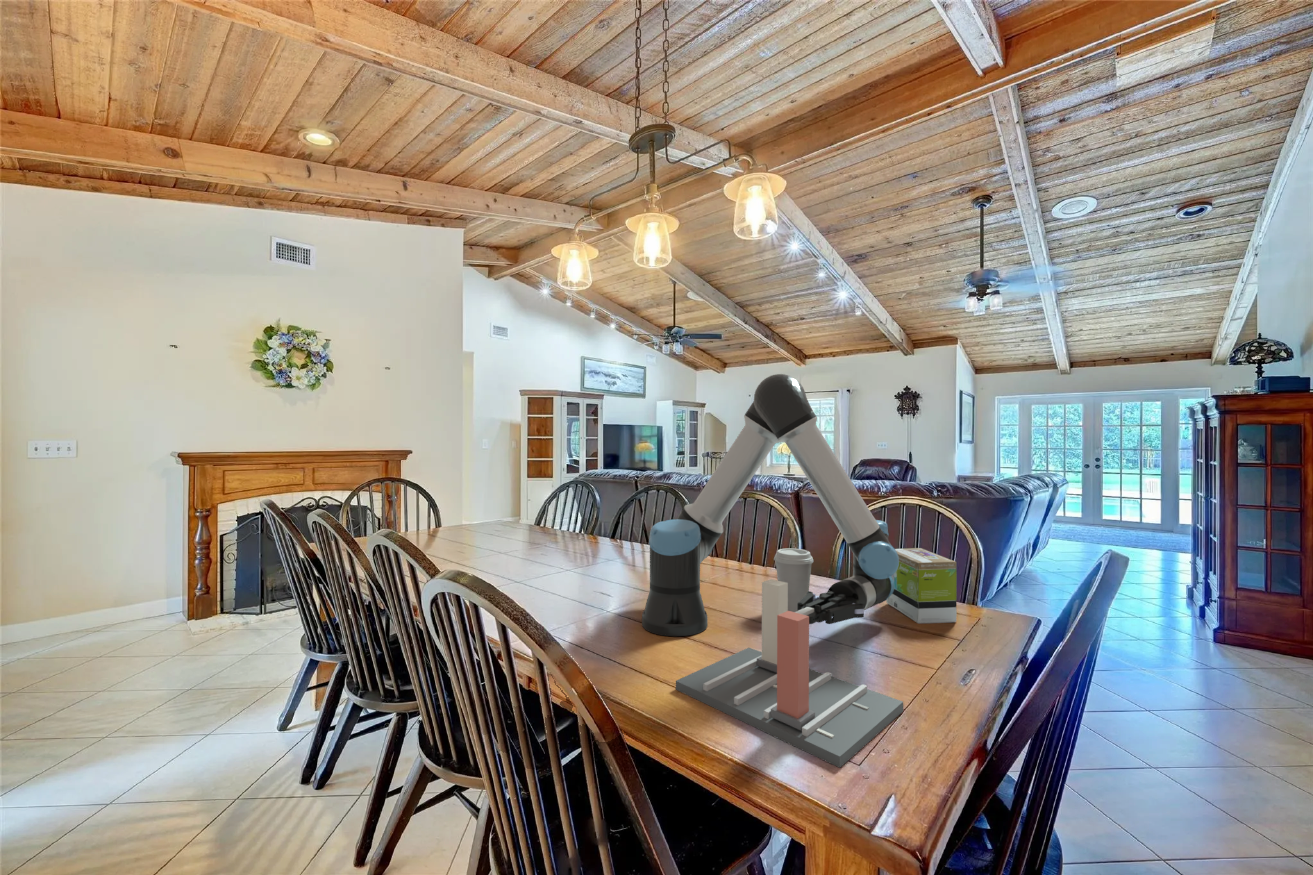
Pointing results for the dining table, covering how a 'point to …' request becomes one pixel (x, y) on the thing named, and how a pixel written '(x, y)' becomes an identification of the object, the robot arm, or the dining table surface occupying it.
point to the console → (838, 705)
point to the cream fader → (771, 620)
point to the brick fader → (793, 670)
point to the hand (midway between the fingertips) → (793, 622)
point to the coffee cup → (794, 573)
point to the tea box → (925, 586)
